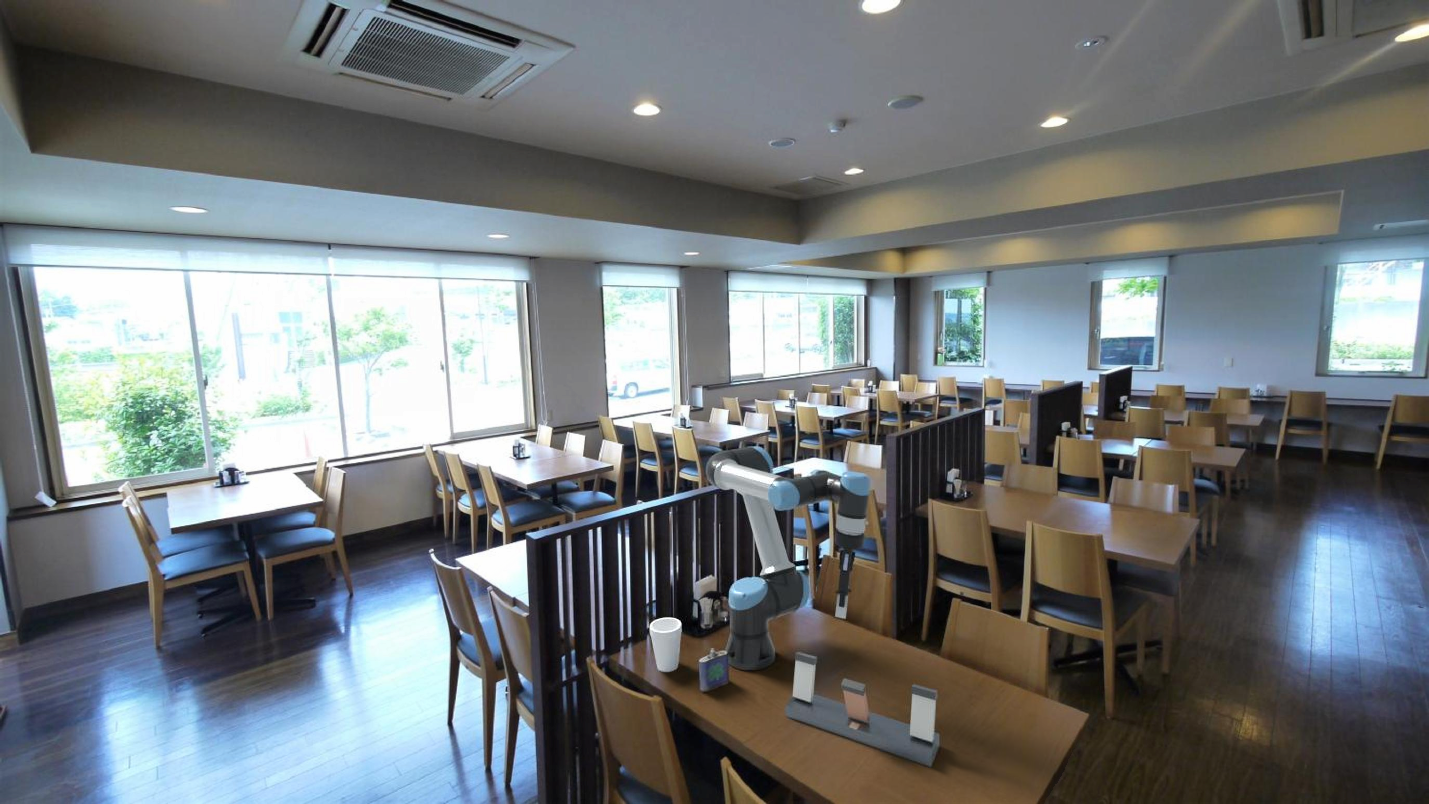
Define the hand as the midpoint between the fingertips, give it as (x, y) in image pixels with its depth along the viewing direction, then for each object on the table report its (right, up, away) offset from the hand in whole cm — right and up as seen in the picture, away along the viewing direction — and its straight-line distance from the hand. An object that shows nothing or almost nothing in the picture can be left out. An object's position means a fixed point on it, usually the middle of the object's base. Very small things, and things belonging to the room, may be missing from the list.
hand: (840, 616), depth 158 cm
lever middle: (+2, -20, -13) cm, 24 cm away
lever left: (-11, -19, -5) cm, 23 cm away
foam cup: (-48, -22, +19) cm, 56 cm away
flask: (-34, -23, +8) cm, 42 cm away
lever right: (+14, -20, -21) cm, 33 cm away
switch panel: (+2, -23, -13) cm, 27 cm away
